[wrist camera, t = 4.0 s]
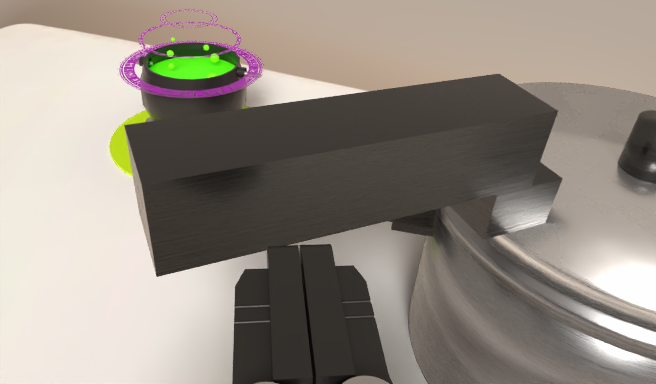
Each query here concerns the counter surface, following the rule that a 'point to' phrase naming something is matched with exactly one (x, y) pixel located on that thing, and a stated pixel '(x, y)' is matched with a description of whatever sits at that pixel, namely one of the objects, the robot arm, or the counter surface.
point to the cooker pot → (509, 319)
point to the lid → (419, 178)
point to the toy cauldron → (184, 85)
